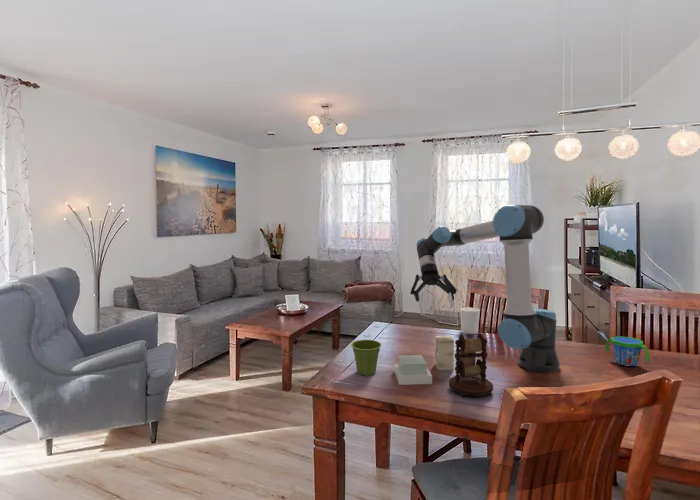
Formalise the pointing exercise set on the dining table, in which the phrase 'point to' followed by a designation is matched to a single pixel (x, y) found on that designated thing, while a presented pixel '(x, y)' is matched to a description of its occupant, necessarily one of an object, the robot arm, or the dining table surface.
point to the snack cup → (627, 350)
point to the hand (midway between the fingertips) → (436, 307)
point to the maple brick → (444, 353)
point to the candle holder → (469, 320)
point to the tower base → (412, 377)
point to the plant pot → (366, 355)
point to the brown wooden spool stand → (471, 367)
